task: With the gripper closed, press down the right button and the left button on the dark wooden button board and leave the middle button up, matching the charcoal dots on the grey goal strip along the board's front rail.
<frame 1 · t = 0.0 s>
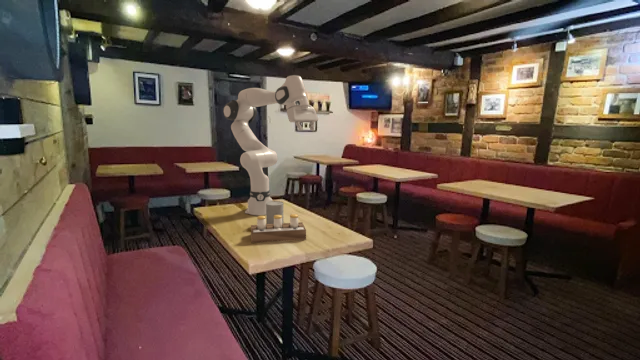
hand: (306, 130, 177), 52 cm above the table, tool tilted 20°, fingers open, 8 cm apart
middle button: (278, 223, 164), point 7 cm above the table, slide at 0.0 cm
button 2: (294, 222, 166), point 7 cm above the table, slide at 0.0 cm
goal strip: (278, 230, 160), resting on button board
button 1: (261, 224, 163), point 7 cm above the table, slide at 0.0 cm
grey concrete cylinder: (275, 225, 185), on the table
button board: (278, 237, 165), on the table
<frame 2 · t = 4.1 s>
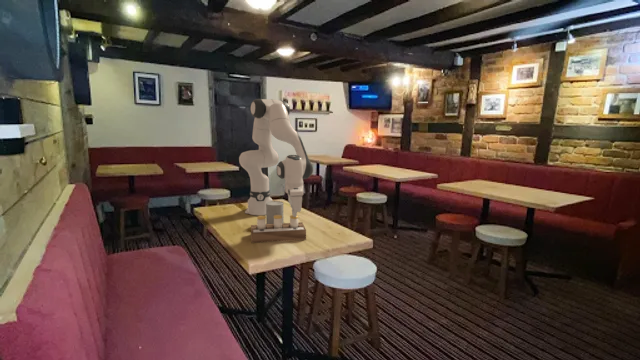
hand: (294, 216, 165), 10 cm above the table, tool pointing down, fingers closed, pressing on button 2
button 2: (294, 223, 166), point 6 cm above the table, slide at 0.4 cm, touching gripper
everything else where it was.
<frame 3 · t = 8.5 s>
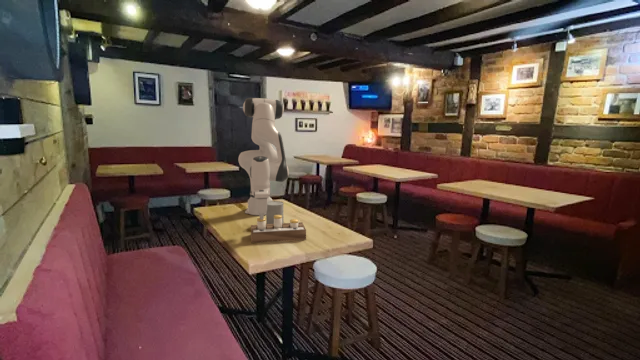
hand: (261, 218, 162), 10 cm above the table, tool pointing down, fingers closed, pressing on button 1
button 2: (294, 227, 166), point 4 cm above the table, slide at 2.6 cm
button 1: (261, 226, 163), point 6 cm above the table, slide at 1.0 cm, touching gripper
everything else where it was.
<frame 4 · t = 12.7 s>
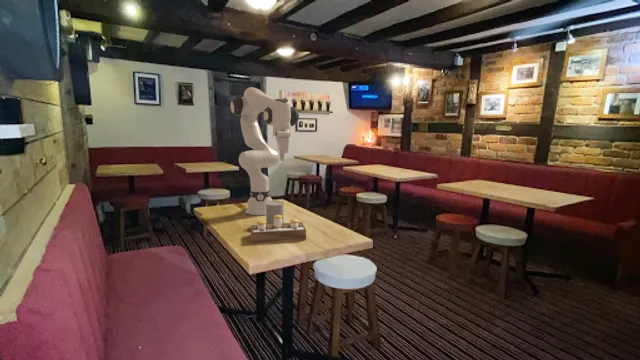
hand: (282, 160, 167), 37 cm above the table, tool pointing down, fingers closed
button 1: (261, 229, 163), point 4 cm above the table, slide at 2.6 cm
everything else where it was.
at the end: button 2 slide at 2.6 cm; button 1 slide at 2.6 cm; middle button slide at 0.0 cm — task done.
